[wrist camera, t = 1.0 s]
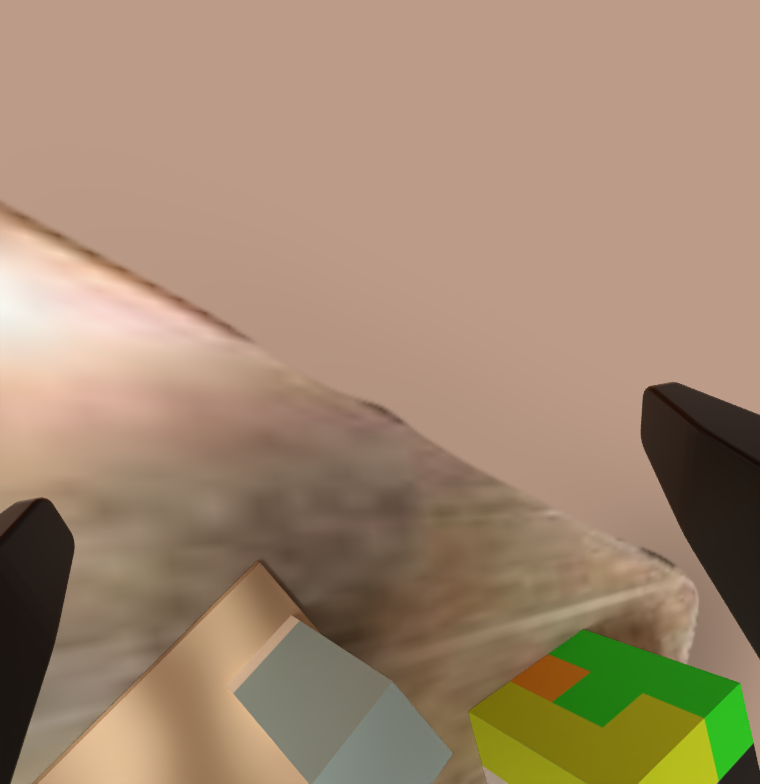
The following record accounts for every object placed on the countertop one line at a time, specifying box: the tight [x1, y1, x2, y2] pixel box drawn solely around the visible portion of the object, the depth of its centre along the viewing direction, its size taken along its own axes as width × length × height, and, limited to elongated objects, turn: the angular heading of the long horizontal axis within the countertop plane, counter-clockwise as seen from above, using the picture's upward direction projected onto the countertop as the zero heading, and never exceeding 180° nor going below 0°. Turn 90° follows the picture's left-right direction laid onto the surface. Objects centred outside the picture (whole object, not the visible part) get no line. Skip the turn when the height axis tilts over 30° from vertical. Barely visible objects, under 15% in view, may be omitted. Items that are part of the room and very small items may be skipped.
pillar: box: [226, 615, 453, 784], centre depth 24 cm, size 4×4×9 cm
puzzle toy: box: [468, 629, 760, 784], centre depth 33 cm, size 10×10×10 cm
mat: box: [33, 561, 323, 784], centre depth 26 cm, size 14×10×1 cm
